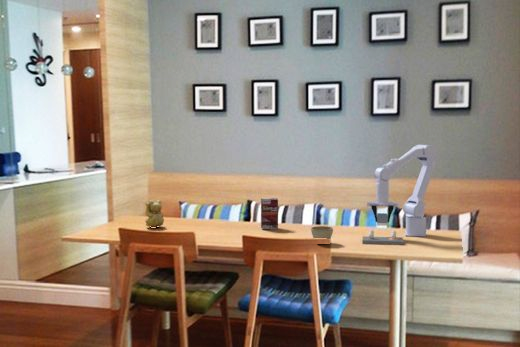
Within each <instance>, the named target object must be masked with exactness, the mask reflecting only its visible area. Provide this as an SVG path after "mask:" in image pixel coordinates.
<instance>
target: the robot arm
mask: <svg viewBox="0 0 520 347" xmlns="http://www.w3.org/2000/svg"><path fill="white" fill-rule="evenodd" d="M437 154H438V153H437V150H436V148H435V146H434V145H431V144H416V145H415V146H412V148H411V149H410V150H408V151H407V152H406V153H405V154H402V155H401V157H399V158H391V159H390V161H389V162H387V163H386V164H383V165H382V167H377V168H376V169H375V171H374V173H373V177H374V178H375V183H376V184H375V185H376V187H375V188H376V190H375V193H376V196H375V197H376V198H375V199H376V201H366V207H370V208H371V211H372V213H373V216H374V219H375V222H376V223H377V213H378V211H377V210H378V207H387V213H388V223H389V222H390V220H391V216H392V214H393V211H394V208H395V207H396V208H398V207H399V202H398V201H397V202H396V201H389V200H390V194H389V191H390V189H389V188H390V187H389V186H390V182H389V181H390V179H391V178H392V176H393V175H395V173H398V171H401V170H402V168H403V165H405V164H406V163H408V162H410V161H411V160H414V159H415V158H417V160H418V161H419V162H420V163H421V165H422V167H421V169H420V172H419V174H418V178H417V180H416V183H415V186H414V189H413V192H412V195H411V196H410V197H408V198H407V200H406V201H405V203H404V204H403V207H402V210H403V213H404V214H405V231H404V236H405V237H407V236H408V237H426V236H427V218H426V217H425V216H423V215H424V214H425V211H426V209H425V206H426V202H425V200H424V198H425V195H426V193H427V189H428V187H429V184H430V182H431V179H432V176H433V172H434V170H435V167H436V156H437Z"/></svg>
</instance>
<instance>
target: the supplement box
mask: <svg viewBox="0 0 520 347" xmlns="http://www.w3.org/2000/svg"><path fill="white" fill-rule="evenodd" d="M260 229H261V231H264V230H263V229H270V230H278V229H279V199H278V198H277V197H272V198H271V197H270V198H267V197H264V198H260Z"/></svg>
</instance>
